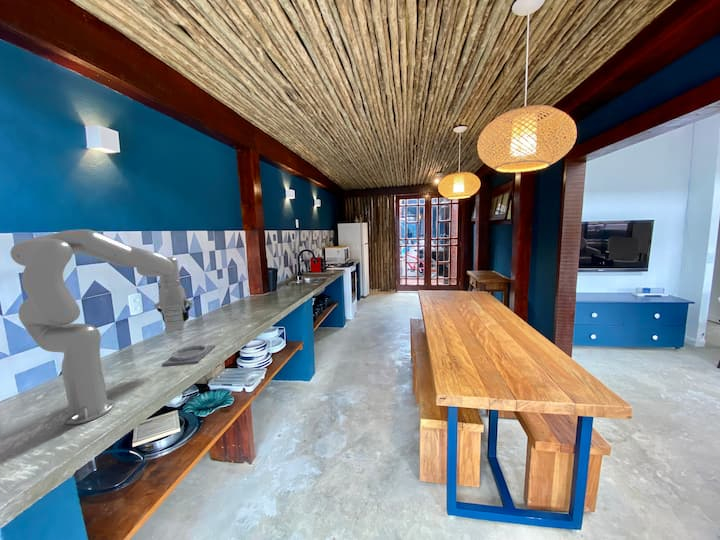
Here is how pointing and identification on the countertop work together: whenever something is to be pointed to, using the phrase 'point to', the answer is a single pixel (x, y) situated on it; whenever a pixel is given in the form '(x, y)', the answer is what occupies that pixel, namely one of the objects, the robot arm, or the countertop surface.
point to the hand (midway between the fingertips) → (176, 320)
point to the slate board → (188, 353)
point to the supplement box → (174, 318)
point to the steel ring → (190, 355)
